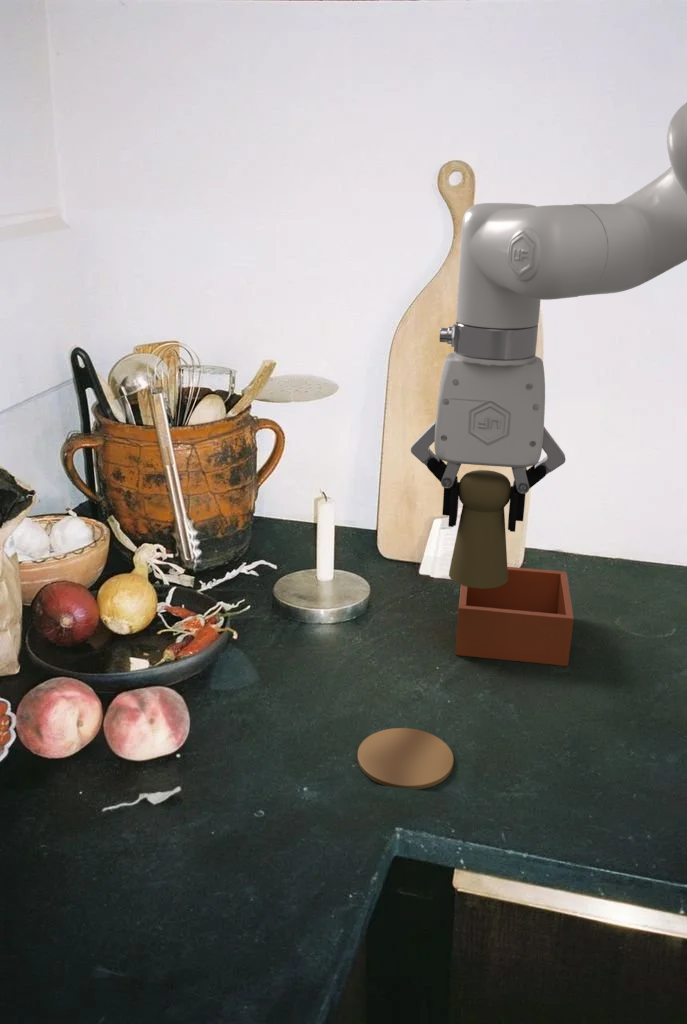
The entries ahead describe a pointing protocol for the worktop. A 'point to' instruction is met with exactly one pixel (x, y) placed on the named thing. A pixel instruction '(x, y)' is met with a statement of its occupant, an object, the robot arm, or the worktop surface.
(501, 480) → the olive brown pawn
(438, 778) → the coaster
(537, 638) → the terracotta open box
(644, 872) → the worktop surface
